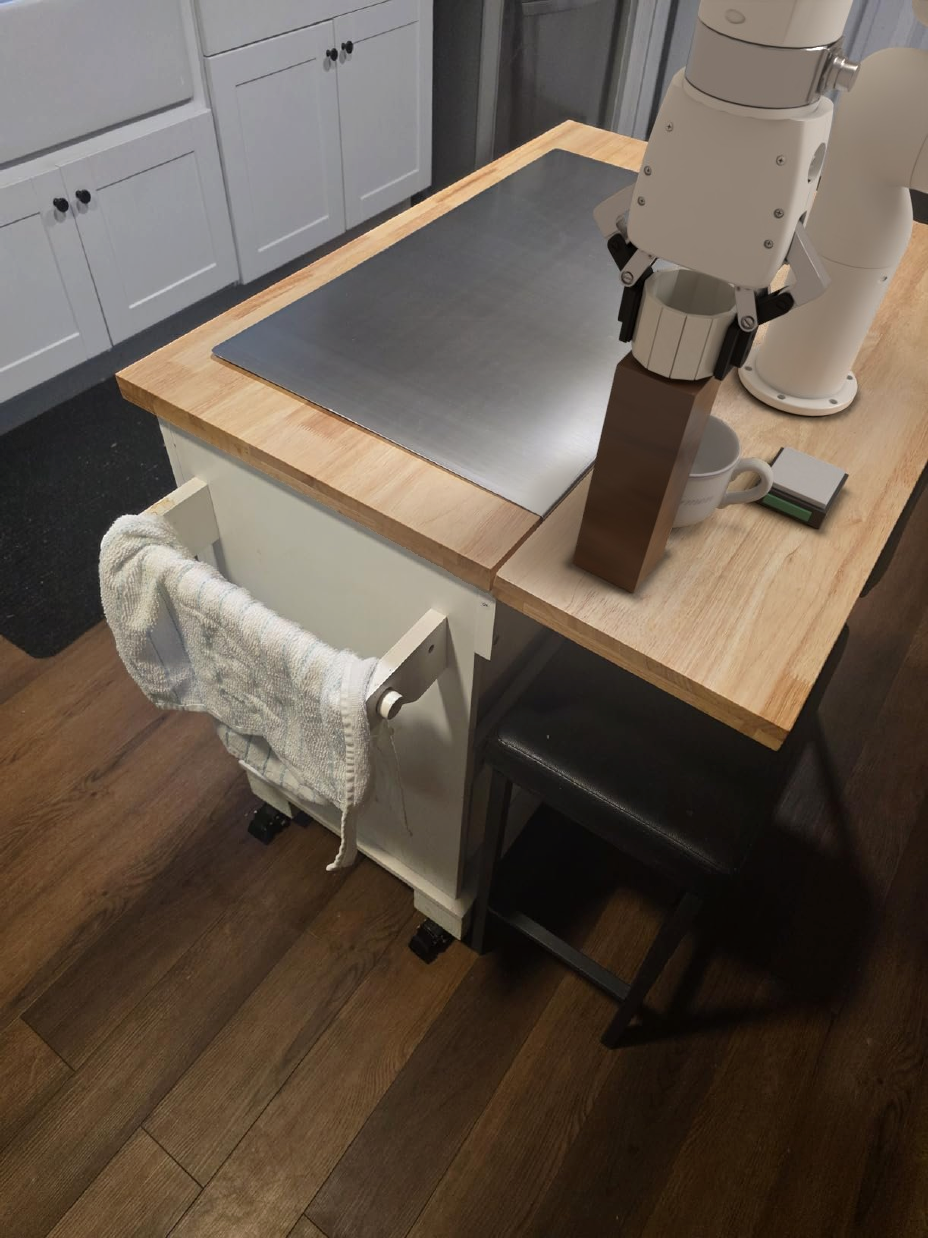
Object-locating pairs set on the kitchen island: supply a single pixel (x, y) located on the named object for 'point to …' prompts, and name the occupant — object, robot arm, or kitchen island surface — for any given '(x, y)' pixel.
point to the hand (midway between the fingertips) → (678, 349)
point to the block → (641, 470)
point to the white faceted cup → (682, 322)
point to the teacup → (719, 475)
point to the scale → (803, 486)
